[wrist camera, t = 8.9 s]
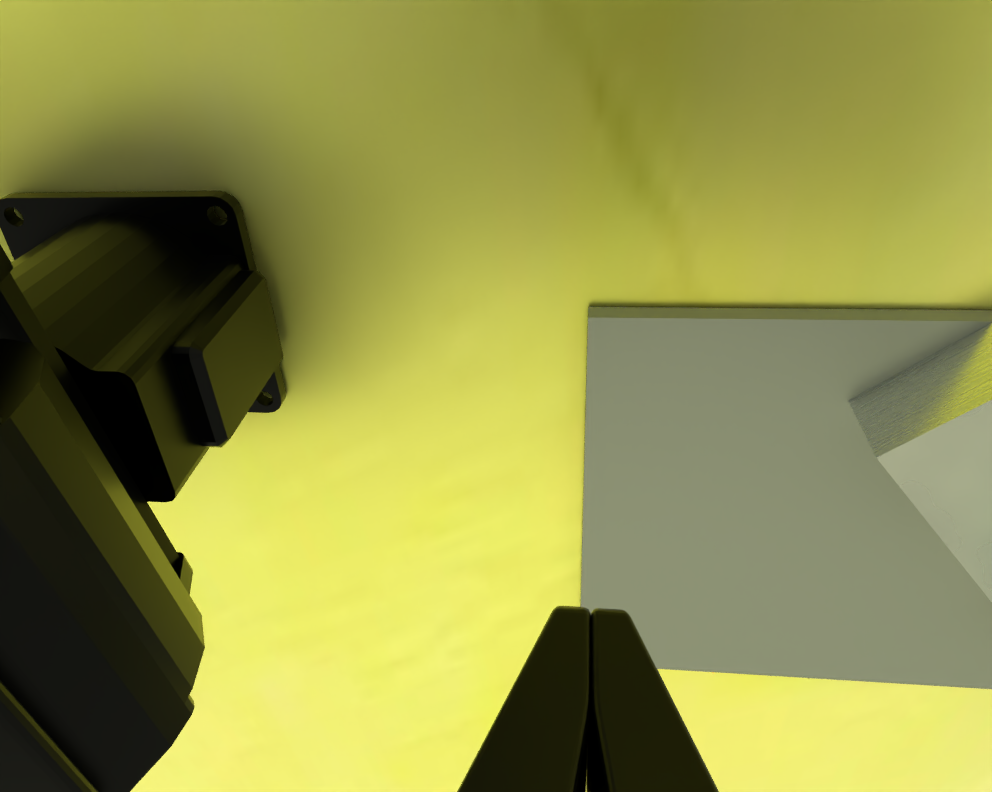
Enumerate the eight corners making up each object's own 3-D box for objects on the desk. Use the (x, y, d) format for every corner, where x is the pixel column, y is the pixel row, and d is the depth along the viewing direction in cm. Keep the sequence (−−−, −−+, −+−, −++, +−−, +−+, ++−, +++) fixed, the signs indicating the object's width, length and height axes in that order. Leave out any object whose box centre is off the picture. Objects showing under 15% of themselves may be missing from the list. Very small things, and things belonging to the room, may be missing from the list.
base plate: (579, 649, 28) (578, 727, 25) (588, 306, 20) (587, 369, 17) (1114, 681, 26) (1172, 770, 23) (1358, 313, 18) (1486, 385, 15)
